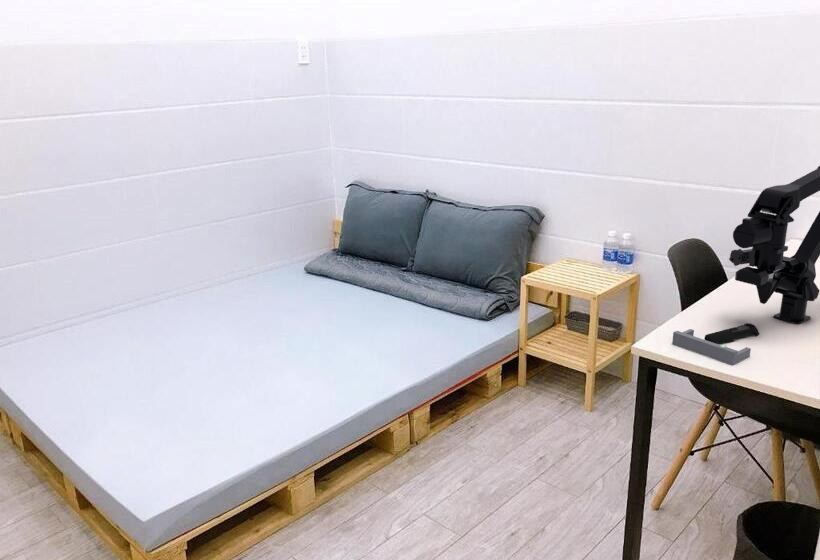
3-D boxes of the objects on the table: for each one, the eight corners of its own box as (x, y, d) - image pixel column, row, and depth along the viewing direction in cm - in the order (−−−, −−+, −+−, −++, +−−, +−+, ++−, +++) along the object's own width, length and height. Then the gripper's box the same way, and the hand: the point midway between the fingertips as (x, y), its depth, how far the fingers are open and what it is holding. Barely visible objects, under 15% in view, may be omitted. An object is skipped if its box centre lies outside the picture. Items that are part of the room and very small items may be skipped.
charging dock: (689, 336, 165) (690, 323, 163) (749, 356, 153) (751, 342, 152) (672, 343, 161) (673, 330, 160) (732, 365, 149) (734, 351, 148)
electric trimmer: (699, 343, 162) (700, 331, 161) (747, 331, 167) (748, 319, 166) (711, 349, 158) (712, 337, 157) (760, 336, 164) (761, 324, 163)
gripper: (758, 229, 173) (751, 286, 178) (717, 242, 163) (710, 303, 168) (804, 237, 164) (794, 297, 169) (763, 251, 154) (755, 315, 159)
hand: (763, 303), depth 167 cm, fingers closed
